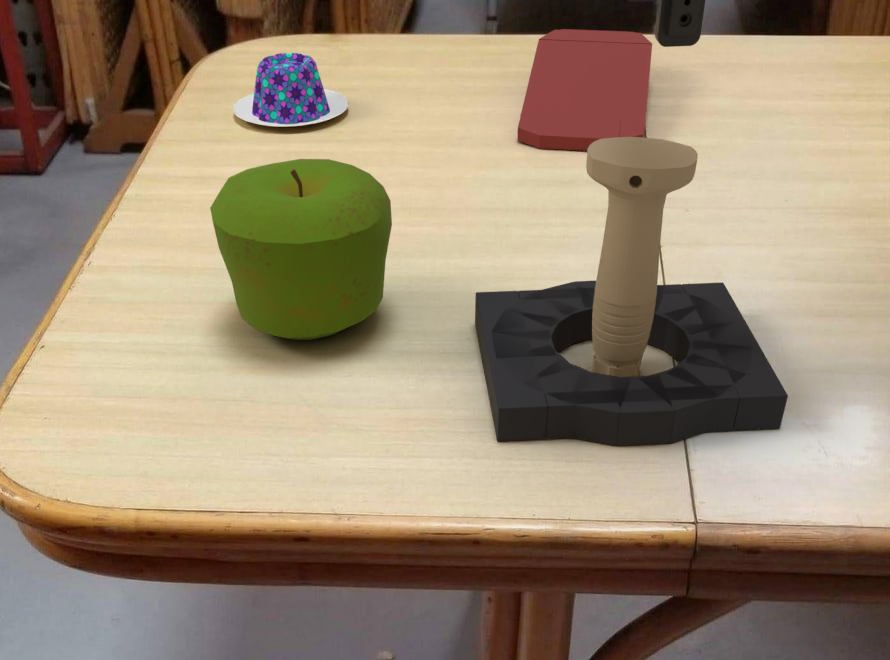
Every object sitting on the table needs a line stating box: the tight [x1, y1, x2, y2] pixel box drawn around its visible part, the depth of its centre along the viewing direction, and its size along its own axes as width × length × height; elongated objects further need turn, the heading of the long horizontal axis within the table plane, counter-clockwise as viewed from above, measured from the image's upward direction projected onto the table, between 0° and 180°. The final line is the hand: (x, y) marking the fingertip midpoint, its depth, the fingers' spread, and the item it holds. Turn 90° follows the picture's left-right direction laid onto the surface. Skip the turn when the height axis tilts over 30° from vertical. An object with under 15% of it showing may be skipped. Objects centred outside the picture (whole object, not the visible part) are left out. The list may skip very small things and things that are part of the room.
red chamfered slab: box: [517, 28, 653, 152], centre depth 112 cm, size 12×5×25 cm
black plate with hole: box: [474, 280, 789, 447], centre depth 72 cm, size 18×17×2 cm
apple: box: [209, 158, 393, 341], centre depth 75 cm, size 12×12×11 cm
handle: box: [585, 137, 699, 377], centre depth 68 cm, size 5×6×15 cm
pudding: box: [232, 52, 349, 128], centre depth 110 cm, size 12×12×5 cm
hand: (657, 21), depth 58 cm, fingers open, 8 cm apart
